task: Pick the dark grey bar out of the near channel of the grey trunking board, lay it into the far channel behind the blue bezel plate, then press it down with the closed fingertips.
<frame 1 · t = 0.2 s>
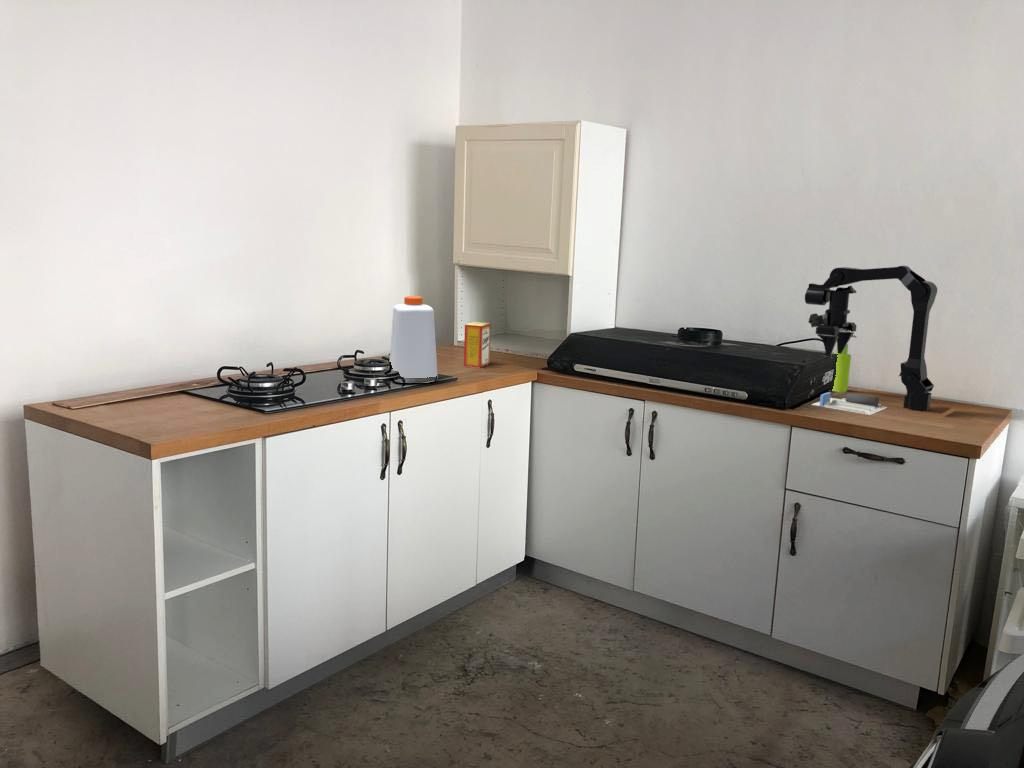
hand: (833, 354, 278), 14 cm above the worktop, tool pointing down, fingers open, 9 cm apart
baking soda box: (476, 366, 319), on the worktop
dark grey bar: (861, 404, 266), point 1 cm above the worktop, touching trunking board
soap dispenser: (839, 393, 289), on the worktop
trunking board: (849, 409, 265), on the worktop
plastic bottle: (412, 380, 288), on the worktop
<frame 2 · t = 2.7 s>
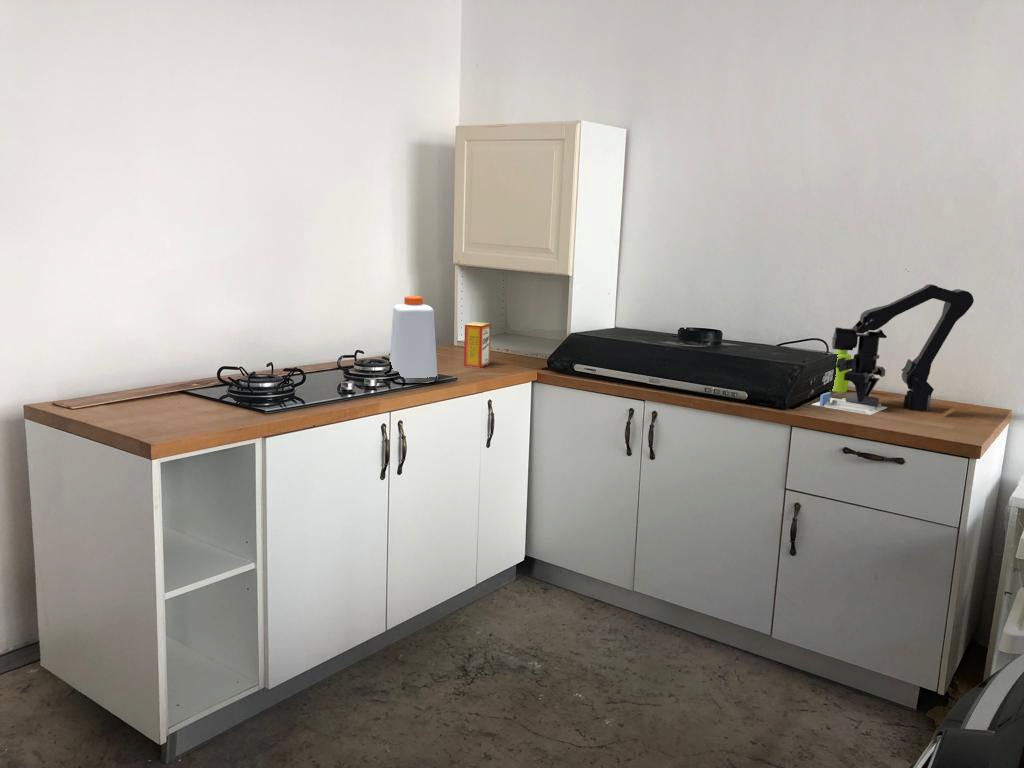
hand: (862, 401, 266), 2 cm above the worktop, tool pointing down, fingers closed on dark grey bar, 3 cm apart
dark grey bar: (861, 404, 266), point 1 cm above the worktop, touching gripper, trunking board
everything else where it was.
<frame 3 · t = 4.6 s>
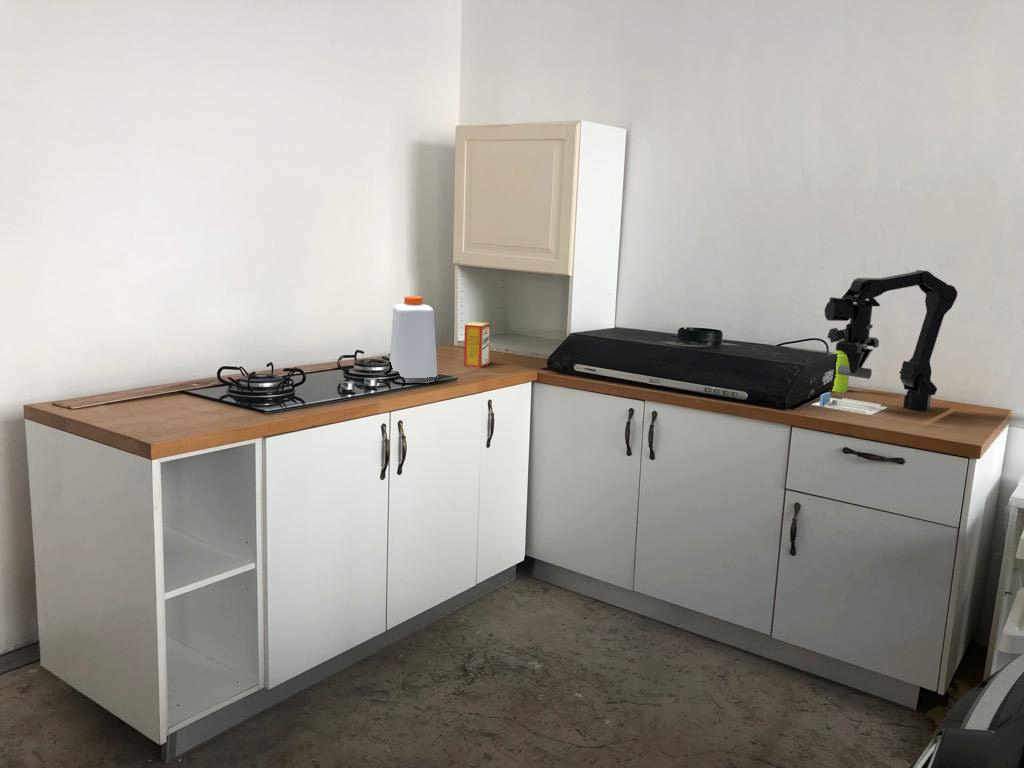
hand: (854, 372, 258), 12 cm above the worktop, tool pointing down, fingers closed on dark grey bar, 3 cm apart
dark grey bar: (853, 376, 258), point 11 cm above the worktop, touching gripper
everything else where it was.
when the fingers open (3 cm above the worktop, at t = 6.4 s): dark grey bar drops 1 cm, resting on trunking board.
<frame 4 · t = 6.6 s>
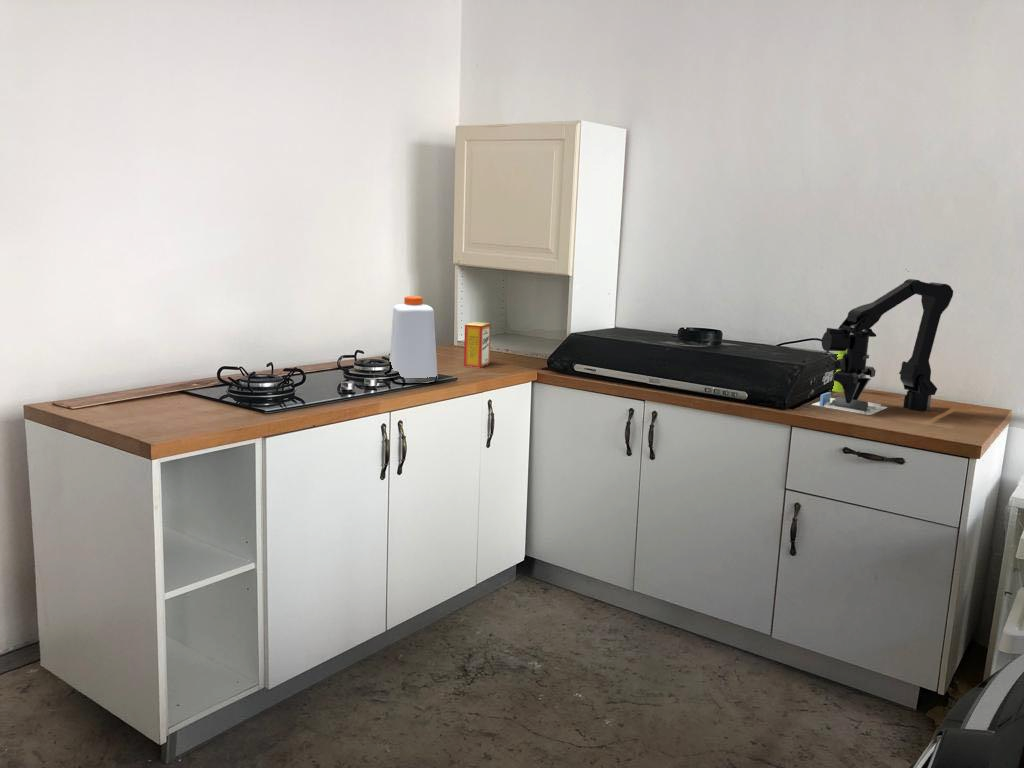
hand: (851, 402, 259), 3 cm above the worktop, tool pointing down, fingers open, 5 cm apart
dark grey bar: (850, 409, 260), point 1 cm above the worktop, touching trunking board
everything else where it was.
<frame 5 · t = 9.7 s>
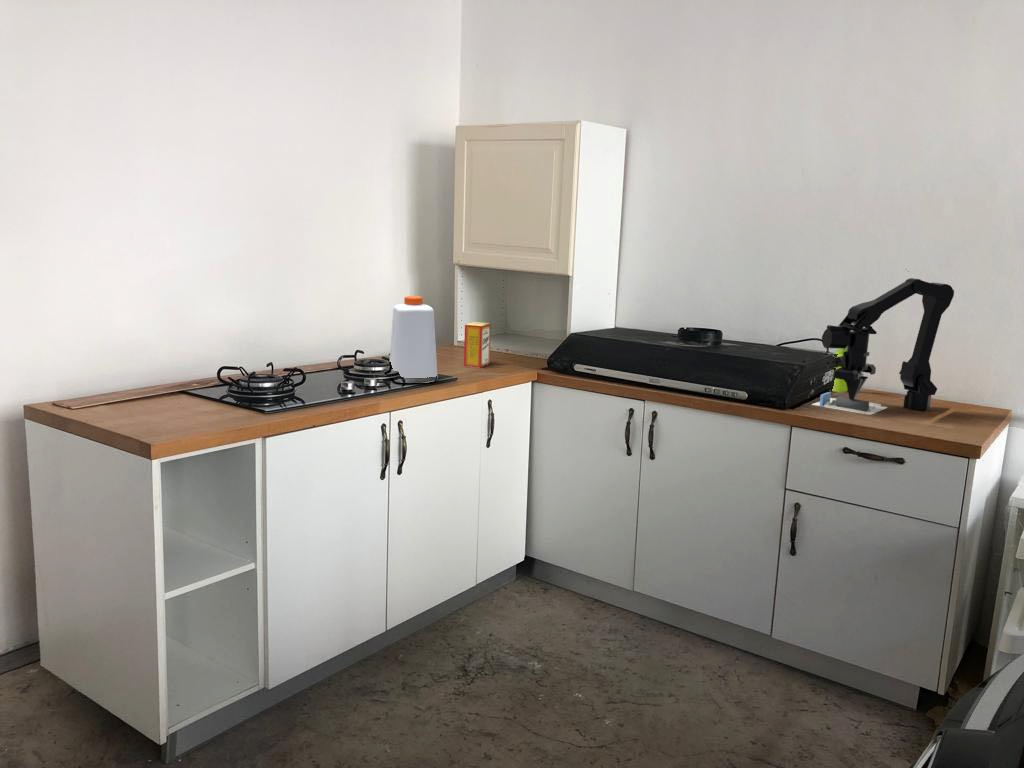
hand: (851, 399, 259), 4 cm above the worktop, tool pointing down, fingers closed
dark grey bar: (850, 408, 260), point 1 cm above the worktop, tilted 40°, touching trunking board
everything else where it was.
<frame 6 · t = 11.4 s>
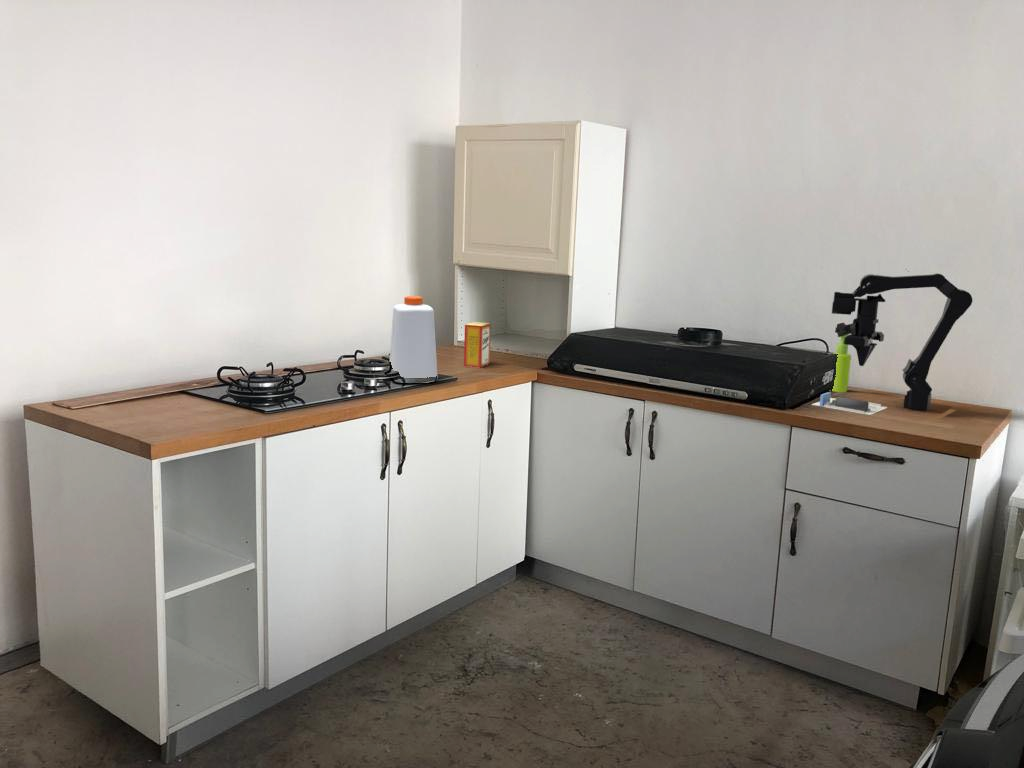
hand: (861, 365, 266), 13 cm above the worktop, tool pointing down, fingers closed
dark grey bar: (850, 408, 260), point 1 cm above the worktop, tilted 21°, touching trunking board
everything else where it was.
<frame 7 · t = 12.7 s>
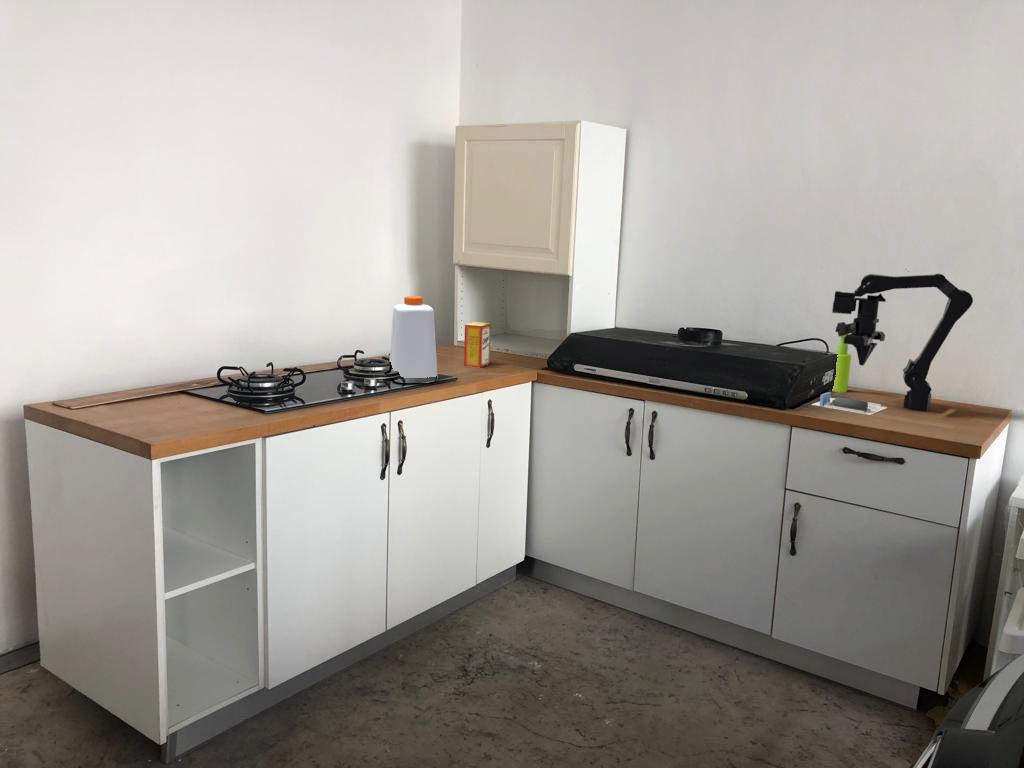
hand: (861, 365, 267), 13 cm above the worktop, tool pointing down, fingers closed
dark grey bar: (850, 409, 260), point 1 cm above the worktop, touching trunking board
everything else where it was.
at the end: dark grey bar inside the target area (1.4 cm from its centre), point 1.0 cm above the worktop; the gripper is holding nothing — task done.
